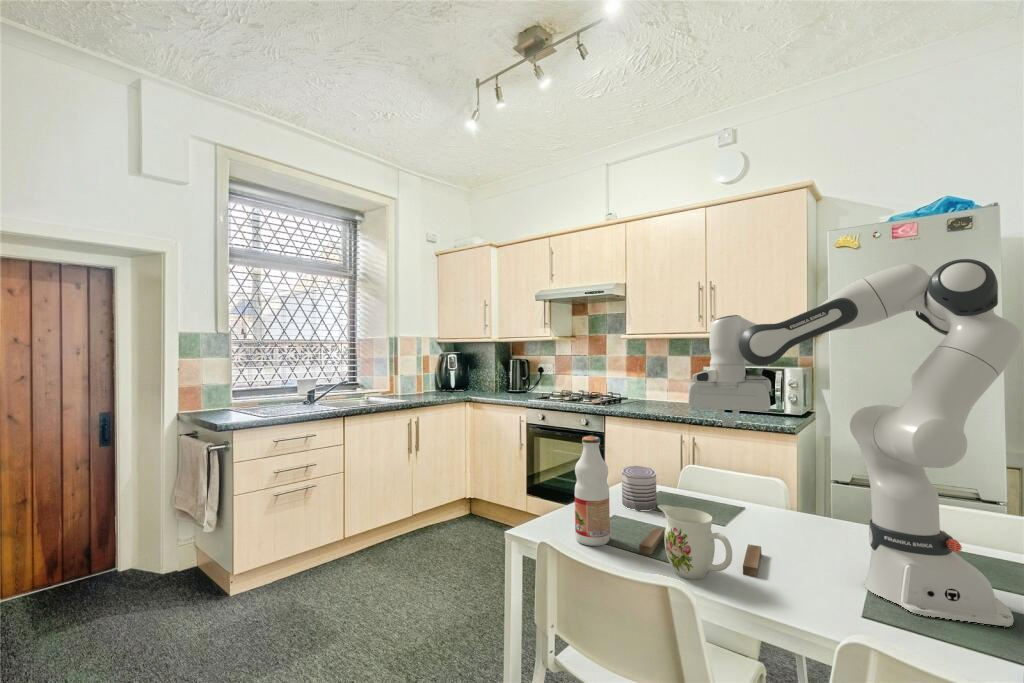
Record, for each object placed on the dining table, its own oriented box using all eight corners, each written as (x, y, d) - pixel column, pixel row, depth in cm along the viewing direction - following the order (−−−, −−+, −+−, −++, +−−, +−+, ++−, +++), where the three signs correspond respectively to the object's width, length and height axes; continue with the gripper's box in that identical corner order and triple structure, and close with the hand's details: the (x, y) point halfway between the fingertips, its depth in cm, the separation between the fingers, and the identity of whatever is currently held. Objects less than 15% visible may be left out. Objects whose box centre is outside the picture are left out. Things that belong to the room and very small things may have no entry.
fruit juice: (604, 549, 124) (602, 441, 124) (570, 543, 128) (568, 439, 129) (614, 536, 132) (612, 436, 133) (581, 531, 136) (580, 433, 137)
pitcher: (720, 597, 99) (718, 530, 99) (646, 567, 113) (645, 509, 113) (743, 580, 106) (742, 518, 106) (671, 554, 120) (670, 500, 120)
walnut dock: (761, 554, 120) (761, 546, 120) (757, 577, 108) (757, 568, 108) (653, 534, 133) (653, 527, 133) (639, 552, 121) (639, 544, 121)
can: (659, 503, 161) (658, 467, 162) (654, 513, 151) (654, 475, 151) (625, 499, 166) (624, 464, 166) (618, 509, 156) (618, 472, 156)
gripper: (771, 375, 126) (772, 427, 126) (690, 374, 137) (691, 422, 136) (770, 376, 121) (771, 430, 120) (686, 375, 131) (687, 425, 131)
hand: (728, 426), depth 128 cm, fingers closed
